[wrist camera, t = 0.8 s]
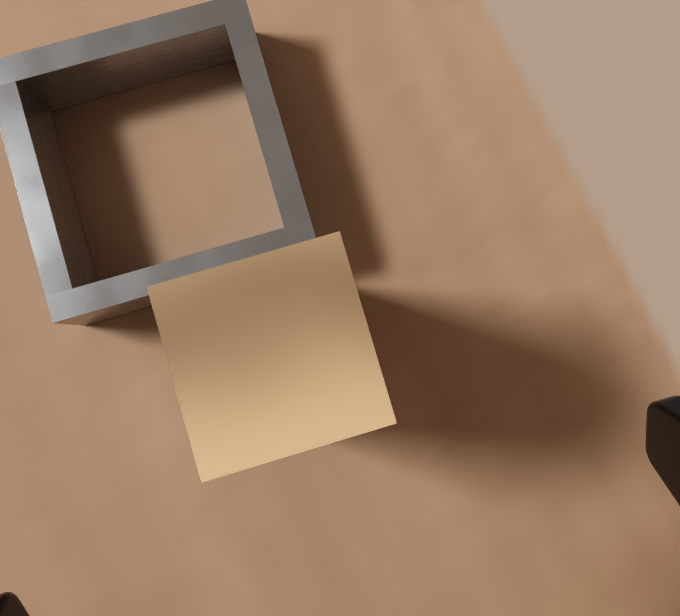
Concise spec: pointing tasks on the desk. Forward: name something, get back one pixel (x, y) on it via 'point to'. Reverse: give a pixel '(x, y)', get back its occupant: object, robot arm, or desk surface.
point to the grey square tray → (112, 77)
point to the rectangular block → (271, 356)
